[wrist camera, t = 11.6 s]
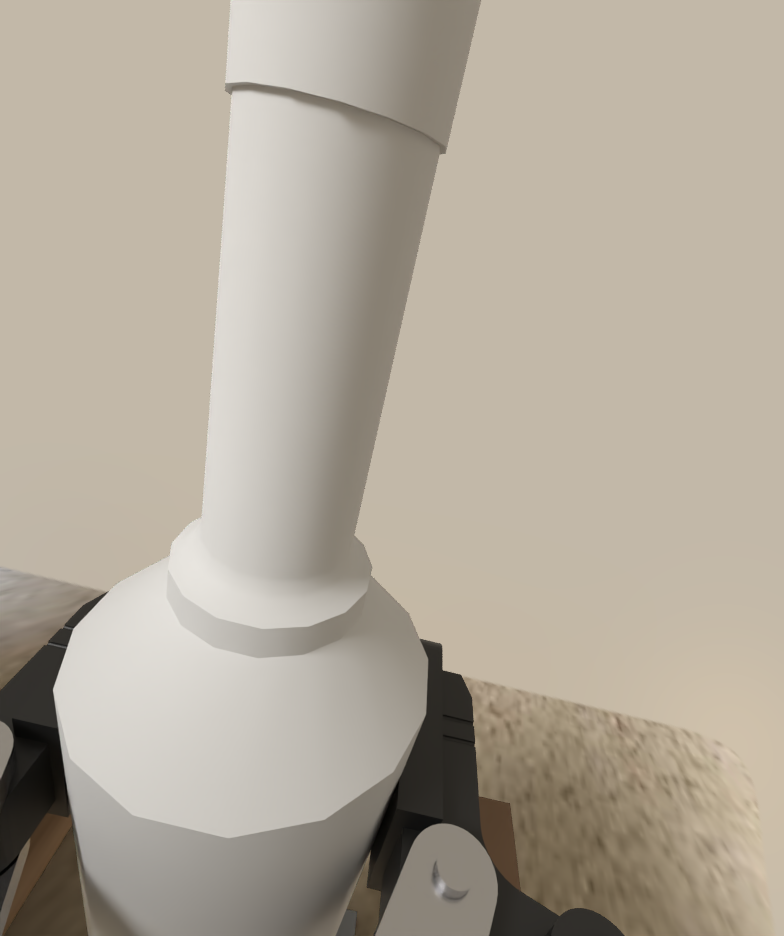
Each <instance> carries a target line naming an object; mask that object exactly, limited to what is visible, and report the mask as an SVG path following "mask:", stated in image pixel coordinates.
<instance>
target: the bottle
mask: <svg viewBox="0 0 784 936" xmlns="http://www.w3.org/2000/svg"><path fill="white" fill-rule="evenodd" d="M480 2H481V0H231V3H230V20H229V35H228V51H227V52H228V53H227V68H226V83H225V85H226V86H225V91H226V92H228V93H229V94H231V95H232V98H231V112H230V126H229V141H228V155H227V169H226V183H225V198H224V212H223V225H222V226H223V227H222V239H221V253H220V268H219V281H218V296H217V311H216V324H215V338H214V352H213V366H212V380H211V381H212V382H211V394H210V409H209V423H208V437H207V452H206V465H205V479H204V495H203V507H202V517H201V518H199V519H197V520H195V521H193V522H191V523H189V524H188V526H187V527H186V528H185V529H184V530H183V531H182V532H181V533H180V534H179V536H178V537H177V538H176V539H175V540H174V541H173V542H172V544H171V551H170V555H169V556H168V557H166V558H164V559H162V560H160V561H158V562H156V563H154V564H152V565H151V566H148V567H147V568H145V569H143V570H141V571H139V572H137V573H135V574H134V575H131V576H130V577H128V578H126V579H124V580H122V581H120V582H118V583H117V584H116V585H115V586H114V587H113V588H112V589H111V590H110V591H109V592H108V593H107V594H106V595H105V596H104V597H103V598H102V599H101V600H100V601H99V602H98V603H97V605H96V606H95V607H94V608H93V609H92V610H91V611H90V612H89V613H88V614H87V615H86V616H85V617H84V618H83V619H82V620H81V621H80V622H79V623H78V624H77V625H76V627H75V628H74V629H73V632H72V635H71V638H70V641H69V644H68V647H67V650H66V653H65V656H64V659H63V662H62V665H61V668H60V670H59V673H58V676H57V679H56V682H55V685H54V688H53V693H54V700H55V707H56V714H57V721H58V728H59V735H60V742H61V749H62V756H63V763H64V770H65V777H66V784H67V791H68V798H69V805H70V812H71V819H72V826H73V833H74V840H75V847H76V854H77V861H78V868H79V875H80V882H81V889H82V896H83V903H84V910H85V917H86V924H87V931H88V936H336V933H337V931H338V929H339V926H340V924H341V921H342V919H343V916H344V914H345V911H346V909H347V907H348V904H349V902H350V899H351V897H352V894H353V892H354V889H355V887H356V885H357V882H358V880H359V877H360V875H361V872H362V870H363V867H364V865H365V862H366V860H367V858H368V855H369V853H370V850H371V848H372V845H373V843H374V840H375V838H376V836H377V833H378V831H379V828H380V826H381V823H382V821H383V818H384V816H385V813H386V811H387V808H388V806H389V803H390V800H391V798H392V795H393V793H394V790H395V788H396V785H397V783H398V780H399V778H400V776H401V774H402V772H403V769H404V767H405V765H406V762H407V760H408V757H409V755H410V752H411V750H412V747H413V745H414V743H415V740H416V738H417V735H418V733H419V730H420V728H421V725H422V723H423V721H424V718H425V716H426V704H427V678H428V657H427V655H426V653H425V650H424V648H423V646H422V643H421V641H420V639H419V637H418V634H417V632H416V630H415V627H414V625H413V623H412V620H411V618H410V616H409V613H408V612H407V611H406V610H405V609H404V608H403V607H402V606H401V605H400V604H399V603H398V602H397V601H396V600H395V599H394V598H393V597H392V596H391V595H390V594H389V593H388V592H387V591H386V590H385V589H384V588H383V587H382V586H381V585H380V584H379V583H378V582H377V581H376V580H375V579H374V578H373V577H372V576H371V571H372V565H371V563H370V560H369V558H368V555H367V552H366V550H365V547H364V545H363V544H362V543H361V542H360V541H359V540H358V539H357V538H356V537H355V536H354V533H355V528H356V524H357V519H358V516H359V511H360V507H361V502H362V497H363V493H364V489H365V484H366V480H367V475H368V471H369V466H370V462H371V458H372V453H373V449H374V444H375V440H376V435H377V431H378V426H379V421H380V417H381V413H382V408H383V404H384V400H385V395H386V391H387V386H388V382H389V377H390V372H391V368H392V364H393V359H394V355H395V350H396V346H397V341H398V337H399V332H400V328H401V324H402V319H403V315H404V310H405V305H406V301H407V296H408V292H409V288H410V283H411V279H412V275H413V270H414V266H415V261H416V257H417V252H418V247H419V243H420V239H421V234H422V230H423V225H424V221H425V216H426V212H427V207H428V203H429V199H430V194H431V190H432V185H433V181H434V176H435V172H436V167H437V163H438V158H439V154H445V153H446V149H447V145H448V141H449V136H450V132H451V128H452V123H453V119H454V115H455V110H456V106H457V101H458V98H459V93H460V89H461V85H462V80H463V76H464V72H465V67H466V63H467V59H468V54H469V50H470V46H471V41H472V37H473V33H474V28H475V24H476V20H477V15H478V11H479V7H480Z"/></svg>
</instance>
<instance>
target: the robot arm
mask: <svg viewBox="0 0 784 936" xmlns="http://www.w3.org/2000/svg"><path fill="white" fill-rule="evenodd" d="M108 592H109V591H108ZM108 592H106V593H104V594H103V595H101V596H99V597H97V598H95V599H94V600H92V601H90V602H88V603H86V604H85V605H83V606H82V607H81V608H80V609H79V610H78V611H77V612H76V613H75V614H74V615H73V616H72V617H71V618H70V620H69V621H68V622H67V623H66V624H65V625H64V628H63V629H60V630H59V631H58V632H57V633H56V634H55V635H54V636H53V637H52V638H51V639H50V640H49V642H48V644H47V646H46V645H44V646H43V647H42V648H41V649H40V650H39V652H38V653H37V654H36V655H35V656H34V657H33V658H32V659H31V660H30V661H29V662H28V663H27V664H26V665H25V666H24V667H23V668H22V669H21V670H20V671H19V672H18V673H17V674H16V675H15V676H14V677H13V678H12V679H11V680H10V681H9V682H8V683H7V685H6V686H5V687H4V688H3V689H2V690H1V691H0V936H2V934H3V931H4V927H5V924H6V921H7V918H8V915H9V912H10V908H11V905H12V902H13V899H14V896H15V893H16V889H17V886H18V883H19V880H20V877H21V874H22V871H23V867H24V864H25V861H26V858H27V855H28V851H29V847H30V837H31V835H32V834H33V832H34V831H35V830H36V828H37V827H38V825H39V824H40V822H41V821H42V819H43V818H44V816H45V815H46V813H50V814H54V815H58V816H63V817H67V818H68V817H69V815H70V814H71V812H70V805H69V798H68V791H67V784H66V777H65V770H64V763H63V756H62V749H61V742H60V735H59V728H58V721H57V714H56V707H55V700H54V693H53V688H54V685H55V682H56V679H57V676H58V673H59V670H60V668H61V665H62V662H63V659H64V656H65V653H66V650H67V647H68V644H69V641H70V638H71V635H72V632H73V629H74V628H75V627H76V625H77V624H78V623H79V622H80V621H81V620H82V619H83V618H84V617H85V616H86V615H87V614H88V613H89V612H90V611H91V610H92V609H93V608H94V607H95V606H96V605H97V603H98V602H99V601H100V600H101V599H102V598H103V597H104V596H105V595H106V594H107V593H108ZM420 641H421V643H422V646H423V648H424V650H425V653H426V655H427V657H428V678H427V704H426V716H425V718H424V721H423V723H422V725H421V728H420V730H419V733H418V735H417V738H416V740H415V743H414V745H413V747H412V750H411V752H410V755H409V757H408V760H407V762H406V765H405V767H404V769H403V772H402V774H401V776H400V778H399V780H398V783H397V785H396V788H395V790H394V793H393V795H392V798H391V800H390V803H389V806H388V808H387V811H386V813H385V816H384V818H383V821H382V823H381V826H380V828H379V831H378V833H377V836H376V838H375V840H374V843H373V845H372V848H371V854H370V863H369V872H368V881H367V888H371V889H375V890H379V891H381V902H380V913H379V923H378V926H377V928H376V930H375V933H374V935H373V936H624V934H623V933H622V932H621V931H620V930H619V929H618V928H617V927H616V926H615V925H614V924H613V923H611V922H610V921H609V920H608V919H606V918H605V917H603V916H602V915H600V914H598V913H596V912H594V911H591V910H588V909H583V908H575V909H570V910H568V911H566V912H564V913H563V914H562V915H561V916H558V915H556V914H555V913H553V912H552V911H550V910H549V909H547V908H546V907H544V906H542V905H541V904H539V903H538V902H536V901H535V900H533V899H532V898H530V897H529V896H527V895H525V894H524V893H522V892H521V891H519V890H518V889H517V888H515V887H514V886H513V885H512V884H511V883H510V882H509V881H508V880H506V879H505V877H504V876H503V875H502V874H501V873H500V871H499V870H498V869H497V867H496V866H495V864H494V863H493V861H492V859H491V857H490V856H489V854H488V851H487V849H486V846H485V844H484V840H483V837H482V831H481V823H480V808H479V794H478V779H477V765H476V750H475V747H474V744H475V735H474V726H473V722H474V721H473V706H472V697H471V695H470V693H469V691H468V688H467V686H466V684H465V682H464V680H463V678H462V676H461V675H460V674H455V673H451V672H447V671H443V670H442V645H441V644H440V643H435V642H431V641H427V640H423V639H420Z"/></svg>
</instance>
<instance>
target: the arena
mask: <svg viewBox="0 0 784 936" xmlns="http://www.w3.org/2000/svg"><path fill="white" fill-rule="evenodd" d="M479 808H480V823H481V831H482V837H483V840H484V844H485V846H486V849H487V851H488V854H489V856H490V857H491V859H492V861H493V863H494V864H495V866H496V867H497V869H498V870H499V871H500V873H501V874H502V875H503V876H504V877H505V879H506V880H508V881H509V882H510V883H511V884H512V885H513V886H514V887H515V888H517V889H518V890H519V891H521V890H520V882H519V873H518V865H517V857H516V849H515V841H514V833H513V824H512V816H511V808H510V803H505V802H501V801H497V800H492V799H488V798H484V797H479ZM71 826H72V819H71V814H70V815H69V817H68V818H67V817H63V816H58V815H54V814H50V813H46V815H45V816H44V818H43V819H42V821H41V822H40V824H39V825H38V827H37V828H36V830H35V831H34V832H33V834H32V835H31V837H30V847H29V851H28V855H27V858H26V861H25V864H24V867H23V871H22V874H21V877H20V880H19V883H18V886H17V889H16V893H15V896H14V899H13V902H12V905H11V908H10V912H9V915H8V918H7V921H6V924H5V927H4V931H3V934H2V936H4V934H5V933H6V931H7V929H8V928H9V926H10V924H11V923H12V921H13V920H14V918H15V916H16V915H17V913H18V912H19V910H20V908H21V907H22V905H23V904H24V902H25V900H26V899H27V897H28V895H29V894H30V892H31V891H32V889H33V887H34V886H35V884H36V883H37V881H38V879H39V878H40V876H41V875H42V873H43V871H44V870H45V868H46V866H47V865H48V863H49V862H50V860H51V858H52V857H53V855H54V854H55V852H56V850H57V849H58V847H59V846H60V844H61V842H62V841H63V839H64V837H65V836H66V834H67V833H68V831H69V829H70V828H71ZM356 918H357V912H356V911H352V910H348V909H346V911H345V914H344V916H343V919H342V921H341V924H340V926H339V929H338V931H337V933H336V936H354V935H355V926H356Z"/></svg>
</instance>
